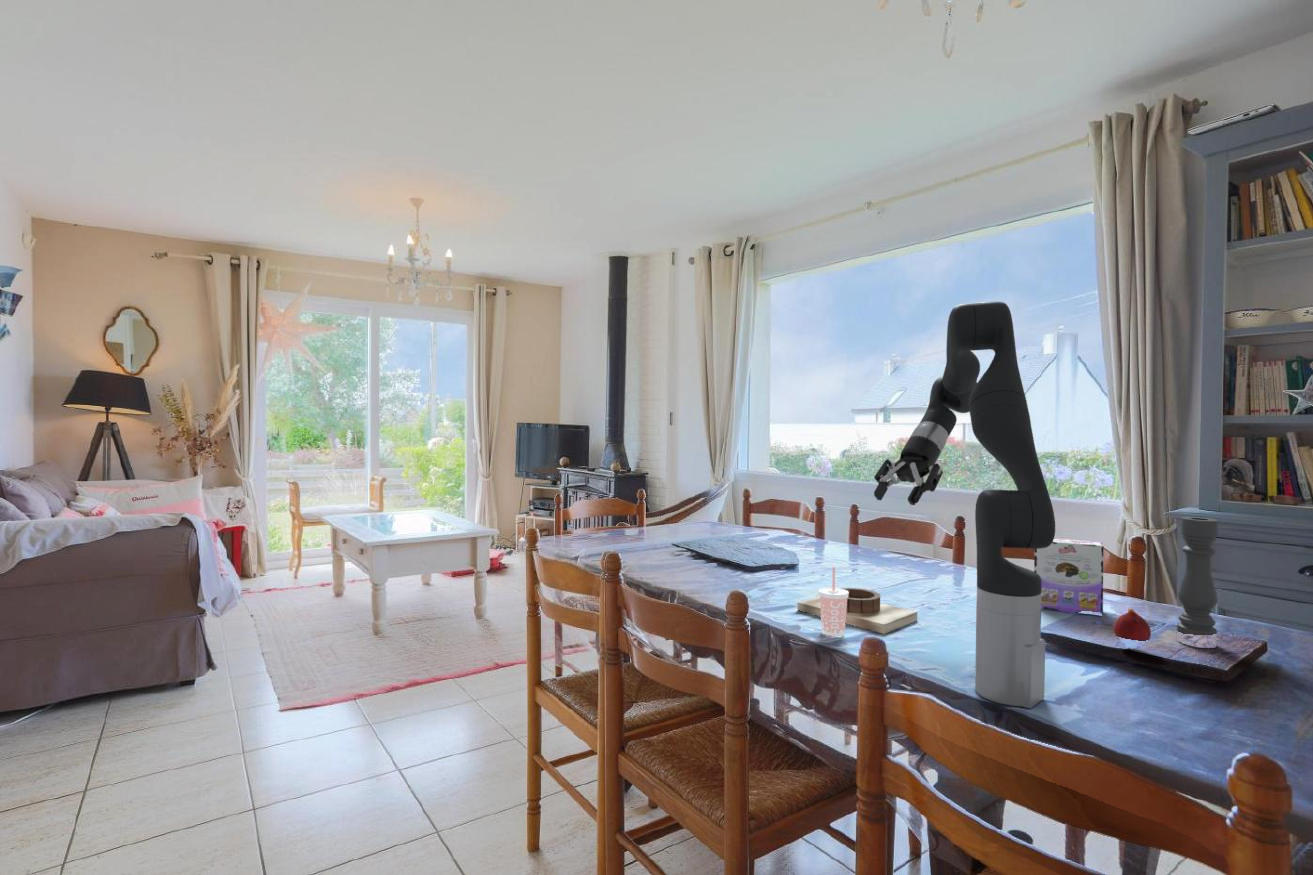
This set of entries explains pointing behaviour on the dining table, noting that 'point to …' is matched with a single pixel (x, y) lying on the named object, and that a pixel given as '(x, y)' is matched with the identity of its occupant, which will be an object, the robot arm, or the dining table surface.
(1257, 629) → the dining table surface
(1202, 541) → the candle holder
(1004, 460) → the robot arm
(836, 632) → the beverage cup
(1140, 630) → the onion
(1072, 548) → the candy box
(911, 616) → the cup stand
